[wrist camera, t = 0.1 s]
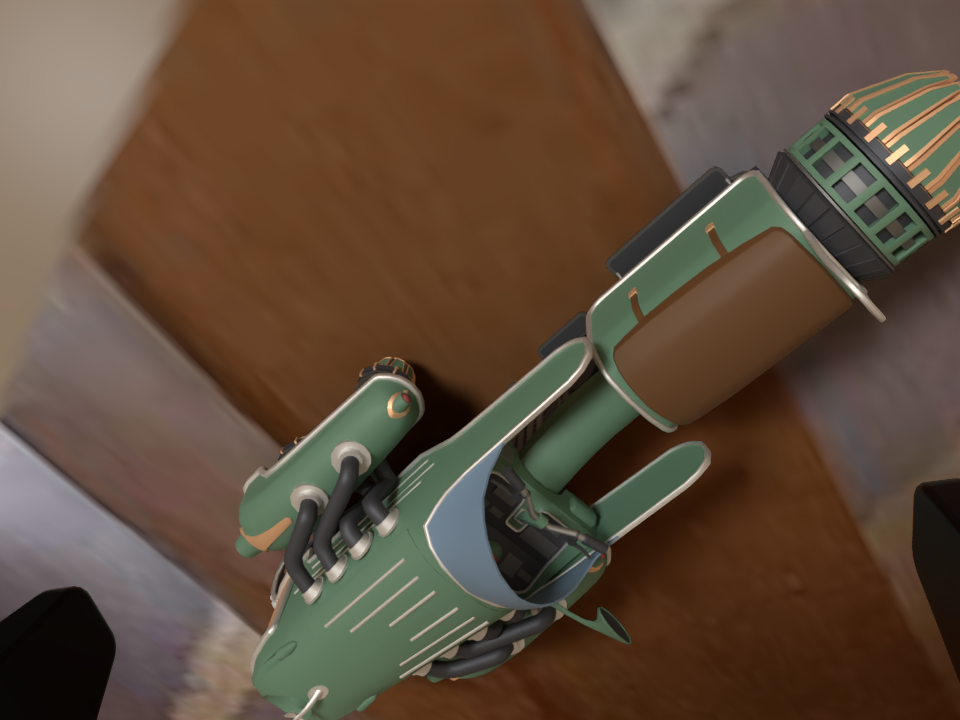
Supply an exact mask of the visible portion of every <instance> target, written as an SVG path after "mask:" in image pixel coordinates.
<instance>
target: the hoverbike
mask: <svg viewBox="0 0 960 720" xmlns="http://www.w3.org/2000/svg"><path fill="white" fill-rule="evenodd" d="M957 78H958V77H957V76H956V75H954V74H949V71H947V70H939V71H926V72H914V73H906V74H903V75H900V76H897V77H894V78H891V79H888V80H886V81H883V82H880V83H877V84H874V85H871V86H868V87H865V88H863V89H860V90H857V91H854V92H851V93H849V94H847V95H845V96H844V97H843V98H842V99H841V100H840V101H839V102H837V103H836V104H835V105H834V106H833V107H832V108H830V110H829V113H830V115H831V116H830V115H828V114H827V113H826V114H825V115H824V116H825V118H826V119H824V118H823V119H822V120H821V121H819V122H818V123H817V124H816V125H815V126H814V127H812V128H811V129H810V130H809V131H808V132H807V133H806V134H804V135H803V136H802V137H801V138H800V139H799V140H798V141H796V142H795V143H794V144H793V145H792V146H791V147H789V148H788V150H789V151H790V152H791V154H792V155H793V156H794V157H795V158H796V159H797V160H798V161H799V162H800V164H801V165H802V166H803V167H804V168H805V169H806V170H807V171H808V172H809V174H810V175H811V176H812V177H813V178H814V179H815V180H816V181H817V182H818V183H819V185H820V186H821V187H822V188H823V189H824V190H825V191H826V192H827V193H828V194H829V196H830V197H831V198H832V199H833V200H834V201H835V202H836V203H837V204H838V205H839V207H840V208H841V209H842V210H843V211H844V212H845V213H846V214H847V215H848V216H849V218H850V219H851V220H852V221H853V222H854V223H855V224H856V225H857V226H858V227H859V229H860V230H861V231H862V232H863V233H864V234H865V235H866V236H867V237H868V238H869V239H870V241H871V242H872V243H873V244H874V245H875V246H876V247H877V248H878V249H879V250H880V251H881V253H882V254H883V255H884V256H885V257H886V258H887V259H888V260H889V261H890V262H891V263H892V264H893V266H894V267H896V266H897V265H898V264H900V263H901V262H902V261H904V260H905V259H906V258H908V257H909V256H910V255H912V254H913V253H914V252H916V251H917V250H918V249H920V248H921V247H922V246H924V245H925V244H926V243H928V242H929V241H930V240H932V239H933V238H934V236H935V237H938V236H939V233H940V234H943V233H945V232H948V231H949V230H950V229H952V228H954V227H956V226H957V225H958V224H960V81H959V82H955V83H954V82H953V81H955V80H957ZM783 151H784V152H785V153H786V154H787V155H788V156H789V157H790V158H791V159H792V160H793V161H792V160H791V159H790V158H789V157H788V156H787V155H786V154H785V153H784V152H778V153H777V156H776V158H775V161H774V164H773V167H772V169H771V172H770V175H769V178H768V179H767V177H766V176H765V175H764V174H763V173H762V172H761V171H760V170H759V169H758V168H757V167H756V166H755V167H753V168H752V169H751V170H750V171H743V172H740V173H738V174H736V175H734V176H732V177H729V176H728V175H727V174H726V173H725V172H724V171H723V170H722V169H721V168H719V167H716V166H715V167H713V168H711V169H709V170H708V171H707V172H706V173H704V174H703V175H702V176H701V177H700V178H699V179H698V180H697V181H695V182H694V183H693V184H692V185H691V186H690V187H689V188H688V189H686V190H685V191H684V192H683V193H682V194H681V195H680V196H678V197H677V198H676V199H675V200H674V201H673V202H672V203H671V204H669V205H668V206H667V207H666V208H665V209H664V210H663V211H661V212H660V213H659V214H658V215H657V216H656V217H655V218H654V219H652V220H651V221H650V222H649V223H648V224H647V225H646V226H645V227H643V228H642V229H641V230H640V231H639V232H638V233H637V234H635V235H634V236H633V237H632V238H631V239H630V240H629V241H628V242H626V243H625V244H624V245H623V246H622V247H621V248H620V249H619V250H617V251H616V252H615V253H614V254H613V255H612V256H611V257H609V259H608V260H607V262H606V265H607V268H608V269H609V270H610V271H611V272H612V273H613V274H614V275H615V276H616V277H618V278H619V281H618V282H616V283H615V284H614V285H613V286H612V287H611V288H609V289H608V290H607V291H606V292H605V293H604V294H602V295H601V296H600V297H599V298H598V299H597V300H596V301H595V302H594V303H593V305H592V306H591V308H590V309H589V311H588V313H587V312H584V311H582V312H580V313H578V314H577V315H575V316H574V317H573V318H572V319H571V320H570V321H568V322H567V323H566V324H565V325H564V326H563V327H562V328H560V329H559V330H558V331H557V332H556V333H555V334H554V335H552V336H551V337H550V338H549V339H548V340H547V341H545V342H544V343H543V344H542V345H541V346H540V347H539V349H538V354H539V356H540V357H541V358H542V359H543V360H542V361H541V362H540V363H539V364H538V365H537V366H535V367H534V368H533V369H532V370H531V371H529V372H528V373H527V374H526V375H525V376H524V377H522V378H521V379H520V380H519V381H518V382H513V383H511V384H510V385H509V387H508V388H507V390H506V391H505V393H504V394H502V395H501V396H500V397H499V398H498V399H496V400H495V401H494V402H493V403H492V404H491V405H489V406H488V407H487V408H486V409H485V410H484V411H482V412H481V413H480V414H479V415H478V416H476V417H475V418H474V419H473V420H472V421H471V422H469V423H468V424H467V425H466V426H465V427H463V428H462V429H461V430H460V431H458V432H457V433H456V434H455V435H453V436H452V437H451V438H449V439H447V440H445V441H444V442H442V443H440V444H438V445H436V446H434V447H433V448H431V449H429V450H427V451H425V452H423V453H422V454H420V455H419V456H418V457H417V458H416V459H414V460H413V461H412V462H411V463H410V464H409V465H408V466H407V467H406V468H405V469H404V470H403V471H402V472H401V473H400V474H399V475H398V476H397V477H396V476H395V474H394V473H393V471H392V470H391V468H390V466H389V464H388V462H387V460H386V458H385V457H386V456H387V455H388V454H389V453H390V452H391V451H392V450H393V449H394V448H395V446H396V445H397V444H398V443H399V442H400V441H401V440H402V438H403V437H404V436H405V435H406V434H407V433H408V431H409V430H410V429H411V428H412V427H413V426H414V425H415V424H416V423H417V422H418V421H419V420H420V419H421V418H422V416H423V414H424V411H425V405H424V399H423V396H422V393H421V391H420V390H419V389H418V388H417V387H416V385H415V374H414V370H413V368H412V367H411V366H410V364H408V363H406V362H405V361H404V360H402V359H400V358H394V357H385V358H383V359H382V360H380V361H379V362H375V364H374V365H373V366H370V367H367V368H365V369H362V370H361V372H360V374H359V376H360V378H359V380H358V382H359V383H358V385H357V387H356V388H355V390H356V391H355V392H354V393H353V394H352V395H351V396H350V397H349V398H348V399H347V400H345V401H344V402H343V403H342V404H341V405H340V406H339V407H338V408H337V409H335V410H334V411H333V412H332V413H331V414H330V415H329V416H328V417H327V418H326V419H324V420H323V421H322V422H321V423H320V424H319V425H318V426H317V427H316V428H315V429H313V430H312V431H311V432H310V433H309V434H308V435H306V436H303V437H300V438H298V437H296V438H295V440H294V441H292V442H291V443H289V444H287V445H285V447H282V448H281V451H280V453H281V455H280V457H279V461H278V462H277V463H276V464H275V465H274V466H272V467H271V468H270V469H267V468H266V467H264V466H261V467H259V468H258V469H257V470H256V471H255V472H254V473H253V474H252V475H251V476H250V477H249V478H248V479H247V481H246V483H245V485H244V487H243V491H244V496H243V499H242V502H241V504H240V507H239V522H240V524H241V528H240V532H241V535H240V537H239V538H238V539H237V541H236V548H237V551H238V552H239V553H240V554H241V555H242V556H244V557H246V558H252V557H254V556H256V555H257V554H259V553H260V552H262V551H265V552H269V551H270V550H274V551H280V550H283V549H285V548H286V551H285V554H284V556H283V558H282V560H281V562H280V564H279V566H278V569H277V571H276V574H275V577H274V579H273V583H272V588H271V592H270V593H271V596H270V599H271V600H273V601H272V606H273V607H274V609H275V611H274V613H273V615H272V618H271V621H270V623H269V626H268V629H267V630H266V632H265V633H264V635H263V636H262V638H261V639H260V641H259V643H258V645H257V646H256V648H255V650H254V652H253V654H252V658H251V663H250V670H251V673H252V682H253V685H254V687H255V688H256V689H257V690H258V691H259V692H260V694H261V695H262V697H263V698H264V699H265V700H267V701H269V702H270V703H272V704H274V705H275V706H277V707H278V708H280V709H282V710H283V711H285V712H286V713H287V714H286V715H284V717H291V718H294V719H293V720H338V719H340V718H342V717H344V716H345V715H347V714H349V713H350V712H352V711H354V710H355V709H357V710H358V711H364V710H365V709H366V708H367V707H368V706H369V705H371V704H372V703H373V702H374V700H375V699H376V698H377V696H378V695H380V694H381V693H383V692H384V691H386V690H388V689H389V688H391V687H392V686H394V685H395V684H398V683H399V682H401V681H402V680H404V679H406V678H407V677H409V676H410V675H420V676H425V675H426V676H427V678H428V679H429V680H430V681H431V682H433V683H436V682H438V681H440V680H443V679H451V680H456V679H465V678H475V677H478V676H481V675H485V674H487V673H489V672H490V671H492V670H494V669H495V668H497V667H498V666H500V665H502V664H503V663H505V662H506V661H508V660H510V659H511V658H512V657H513V656H515V655H516V654H517V653H519V652H520V651H521V650H523V649H524V648H525V647H526V646H528V645H529V644H530V643H531V642H532V641H533V640H534V639H535V638H537V637H538V636H539V635H540V634H541V633H542V632H543V631H545V630H546V629H548V628H549V627H550V626H551V625H552V624H553V623H554V622H555V621H556V620H558V619H560V618H562V616H563V615H564V614H565V615H567V616H569V617H570V618H572V619H574V620H576V621H578V622H580V623H582V624H583V625H585V626H588V627H590V628H592V629H594V630H596V631H598V632H600V633H603V634H605V635H607V636H609V637H611V638H613V639H616V640H618V641H620V642H623V643H625V644H627V645H628V644H631V643H632V641H631V637H630V636H629V634H628V633H627V631H626V630H625V628H624V627H623V626H622V624H621V623H620V622H619V621H618V620H617V619H616V618H615V617H614V616H613V615H612V614H611V613H610V612H609V611H608V610H606V609H605V608H603V607H598V608H597V619H596V620H595V621H591V620H586V619H583V618H581V617H579V616H577V615H576V614H574V613H572V612H570V611H568V609H569V608H570V607H571V606H572V605H573V604H574V603H575V602H576V601H577V600H578V599H579V598H581V597H582V596H583V595H584V594H585V593H586V592H587V591H588V590H589V589H590V588H591V587H592V586H593V585H594V584H595V583H596V582H597V581H598V580H599V578H600V577H601V576H602V574H603V572H604V570H605V568H606V566H607V565H609V563H610V561H611V548H610V545H612V544H613V543H614V542H616V541H617V540H618V539H620V538H621V537H622V536H624V535H625V534H626V533H628V532H629V531H630V530H632V529H633V528H635V527H636V526H637V525H639V524H640V523H641V522H643V521H644V520H645V519H647V518H648V517H649V516H651V515H652V514H653V513H655V512H656V511H657V510H659V509H660V508H662V507H663V506H664V505H666V504H667V503H668V502H670V501H671V500H672V499H674V498H675V497H676V496H678V495H679V494H680V493H682V492H683V491H685V490H686V489H687V488H689V487H690V486H691V485H692V484H693V483H694V482H695V481H696V480H697V479H698V478H699V477H700V476H701V475H702V474H703V473H704V472H705V470H706V469H707V468H708V466H709V465H710V464H711V451H710V450H709V449H708V447H707V446H706V445H705V444H704V443H703V442H702V441H689V442H685V443H681V444H679V445H677V446H675V447H673V448H671V449H669V450H667V451H666V452H664V453H663V454H662V455H660V456H659V457H657V458H656V459H655V460H653V461H652V462H650V463H649V464H648V465H646V466H645V467H643V468H642V469H641V470H639V471H638V472H636V473H635V474H634V475H632V476H631V477H629V478H628V479H627V480H625V481H624V482H623V483H621V484H620V485H618V486H617V487H616V488H614V489H613V490H611V491H610V492H609V493H607V494H606V495H604V496H603V497H602V498H600V499H599V500H597V501H596V502H595V503H593V504H592V505H590V506H588V505H586V504H585V503H584V502H583V501H582V500H580V499H579V498H578V497H576V496H575V495H574V494H572V493H571V492H569V491H568V490H566V489H564V490H562V489H563V488H564V487H565V485H566V484H567V483H568V482H569V481H570V480H571V479H572V478H573V476H574V475H575V474H576V473H577V472H578V471H579V470H580V469H581V468H582V467H583V466H584V465H585V464H586V463H587V462H588V461H589V459H590V458H591V457H592V456H593V455H594V454H595V453H596V452H597V451H598V450H600V449H601V448H602V447H603V446H604V445H605V444H606V443H607V442H608V441H609V440H610V439H611V438H612V437H613V436H614V435H616V434H617V433H618V432H619V431H621V430H622V429H623V428H624V427H625V426H627V425H628V424H629V423H630V422H632V421H633V420H634V419H635V418H636V417H638V416H639V415H640V414H641V415H642V416H643V417H644V418H645V419H647V420H648V421H649V422H651V423H652V424H654V425H655V426H656V427H658V428H659V429H661V430H662V431H665V432H667V433H670V432H673V431H675V430H676V429H677V426H678V425H689V424H691V423H693V422H695V421H696V420H698V419H699V418H701V417H702V416H704V415H705V414H707V413H708V412H710V411H711V410H712V409H714V408H715V407H717V406H718V405H720V404H721V403H723V402H724V401H726V400H727V399H729V398H730V397H732V396H733V395H734V394H736V393H737V392H738V391H740V390H741V389H742V388H744V387H745V386H747V385H748V384H749V383H751V382H752V381H753V380H755V379H756V378H757V377H759V376H760V375H762V374H763V373H764V372H766V371H767V370H768V369H770V368H771V367H772V366H774V365H775V364H776V363H778V362H779V361H780V360H782V359H783V358H785V357H786V356H787V355H789V354H790V353H791V352H793V351H794V350H795V349H797V348H798V347H799V346H801V345H802V344H803V343H805V342H806V341H807V340H809V339H810V338H811V337H813V336H814V335H815V334H817V333H818V332H819V331H821V330H822V329H823V328H825V327H826V326H827V325H829V324H830V323H831V322H833V321H834V320H836V319H837V318H838V317H840V316H841V315H842V314H844V313H845V312H846V311H848V310H849V309H850V308H851V307H852V305H853V301H852V300H853V299H854V298H855V297H857V298H858V299H859V301H860V302H861V303H862V304H863V305H864V306H865V307H866V308H867V310H868V311H869V312H870V313H871V314H872V315H873V316H874V317H875V318H876V319H877V320H879V321H880V322H884V321H885V320H886V317H885V316H884V315H883V313H882V312H881V311H880V310H879V309H878V308H877V307H876V306H875V305H874V304H873V303H872V301H871V300H870V298H869V297H868V295H867V290H866V288H865V287H864V285H863V284H862V283H861V282H862V281H868V280H875V279H881V278H887V277H892V270H893V271H894V270H895V269H894V267H893V266H892V265H891V264H890V263H889V262H888V261H887V260H886V259H885V257H884V256H883V255H882V254H881V253H880V252H879V251H878V250H877V249H876V248H875V246H874V245H873V244H872V243H871V242H870V241H869V240H868V239H867V238H866V237H865V235H864V234H863V233H862V232H861V231H860V230H859V229H858V228H857V227H856V226H855V224H854V223H853V222H852V221H851V220H850V219H849V218H848V217H847V216H846V215H845V213H844V212H843V211H842V210H841V209H840V208H839V207H838V206H837V205H836V204H835V202H834V201H833V200H832V199H831V198H830V197H829V196H828V195H827V194H826V193H825V191H824V190H823V189H822V188H821V187H820V186H819V185H818V184H817V183H816V182H815V180H814V179H813V178H812V177H811V176H810V175H809V174H808V173H807V172H806V171H805V170H804V168H803V167H802V166H801V165H800V164H799V163H798V162H797V161H796V160H795V159H794V158H793V156H792V155H791V154H790V153H789V152H788V151H787V150H786V149H784V150H783ZM795 164H796V165H797V166H798V167H799V168H800V169H801V170H802V171H803V172H802V171H801V170H800V169H799V168H798V167H797V166H796V165H795ZM805 175H806V176H807V177H808V178H809V179H810V180H811V181H812V182H813V183H812V182H811V181H810V180H809V179H808V178H807V177H806V176H805ZM816 187H817V188H818V189H819V190H820V191H821V192H822V193H823V194H822V193H821V192H820V191H819V190H818V189H817V188H816ZM826 198H827V199H828V200H829V201H830V202H831V203H832V204H833V205H832V204H831V203H830V202H829V201H828V200H827V199H826ZM836 209H837V210H838V211H839V212H840V213H841V214H842V215H841V214H840V213H839V212H838V211H837V210H836ZM846 220H847V221H848V222H849V223H850V224H851V225H852V226H853V227H852V226H851V225H850V224H849V223H848V222H847V221H846ZM855 230H856V231H857V232H858V233H859V234H860V235H861V236H862V237H863V238H862V237H861V236H860V235H859V234H858V233H857V232H856V231H855ZM865 241H866V242H867V243H868V244H869V245H870V246H871V247H872V248H873V249H872V248H871V247H870V246H869V245H868V244H867V243H866V242H865ZM875 252H876V253H877V254H878V255H879V256H880V257H881V258H882V259H883V260H882V259H881V258H880V257H879V256H878V255H877V254H876V253H875ZM885 263H886V264H887V265H888V266H889V267H890V268H891V269H892V270H891V269H890V268H889V267H888V266H887V265H886V264H885ZM586 334H587V337H583V336H585V335H586ZM362 371H363V373H362ZM361 373H362V374H361ZM282 449H283V451H282ZM369 475H370V476H371V478H372V479H373V480H374V481H375V483H376V484H375V483H373V482H372V481H371V480H369V479H368V478H367V477H368V476H369ZM355 490H356V491H357V492H358V493H359V494H361V495H362V497H361V498H360V499H359V501H358V502H357V503H356V504H355V505H354V506H352V507H350V508H348V509H347V510H346V511H345V512H344V510H345V508H346V506H347V504H348V502H349V500H350V497H351V495H352V493H353V492H354V491H355ZM561 490H562V491H561ZM339 530H340V531H339ZM313 532H315V533H314V535H313V541H311V542H310V543H309V544H308V541H309V539H310V536H311V534H312V533H313ZM307 544H308V545H307ZM312 545H313V548H312ZM313 551H314V553H315V554H314V555H313V556H312V554H313ZM285 567H286V570H287V573H286V575H285V573H284V569H285Z"/></svg>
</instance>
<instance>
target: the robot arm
mask: <svg viewBox="0 0 960 720" xmlns="http://www.w3.org/2000/svg"><path fill="white" fill-rule="evenodd" d="M912 551H913V558H914V563H915V567H916V570H917V573H918V576H919V578H920V581H921V584H922V586H923V589H924V591H925V594H926V596H927V599H928V602H929V604H930V607H931V609H932V612H933V615H934V617H935V620H936V622H937V625H938V628H939V630H940V633H941V635H942V638H943V641H944V643H945V646H946V648H947V651H948V653H949V656H950V659H951V661H952V664H953V666H954V669H955V672H956V674H957V677H958V679H959V682H960V479H959V478H955V479H947V480H939V481H930V482H924V483H921V484H920V485H919V486H917V487H916V490H915V493H914V506H913V537H912ZM115 653H116V642H115V638H114V635H113V633H112V631H111V629H110V627H109V626H108V624H107V623H106V621H105V619H104V618H103V616H102V614H101V613H100V611H99V609H98V608H97V606H96V604H95V603H94V601H93V600H92V598H91V596H90V595H89V593H88V592H87V591H86V590H84V589H83V588H81V587H76V586H72V587H64V588H56V589H50V590H46V591H44V592H42V593H40V594H38V595H37V596H36V597H34V598H33V599H31V600H30V601H29V602H27V603H26V604H24V605H23V606H22V607H20V608H19V609H17V610H16V611H15V612H13V613H12V614H10V615H9V616H8V617H6V618H5V619H3V620H2V621H1V622H0V720H97V717H98V714H99V710H100V707H101V703H102V700H103V696H104V693H105V690H106V686H107V683H108V679H109V676H110V672H111V669H112V666H113V662H114V659H115Z"/></svg>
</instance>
